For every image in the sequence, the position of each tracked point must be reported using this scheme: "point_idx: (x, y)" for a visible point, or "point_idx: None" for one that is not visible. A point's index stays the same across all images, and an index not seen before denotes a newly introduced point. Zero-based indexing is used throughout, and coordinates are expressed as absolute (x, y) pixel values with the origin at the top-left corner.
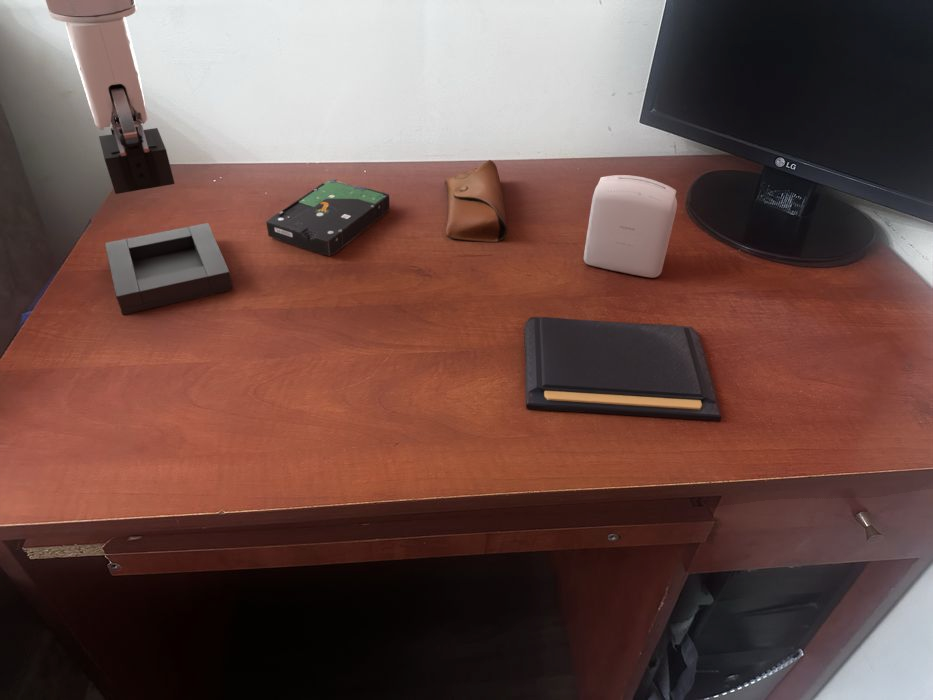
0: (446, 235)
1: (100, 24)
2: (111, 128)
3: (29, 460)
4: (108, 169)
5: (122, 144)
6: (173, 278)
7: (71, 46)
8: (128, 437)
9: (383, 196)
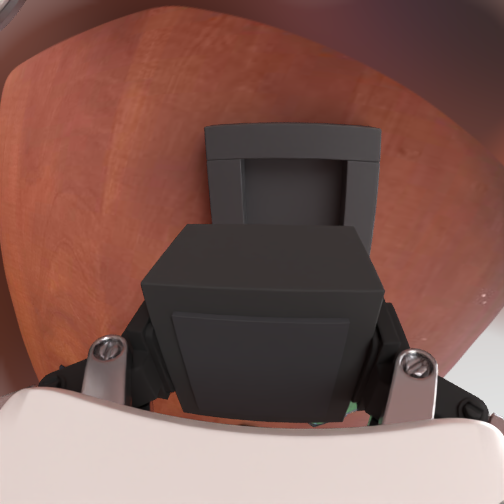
0: (244, 425)
1: None
2: (396, 345)
3: (36, 68)
4: (157, 262)
5: (46, 378)
6: (225, 210)
7: None
8: (37, 140)
9: (315, 423)
